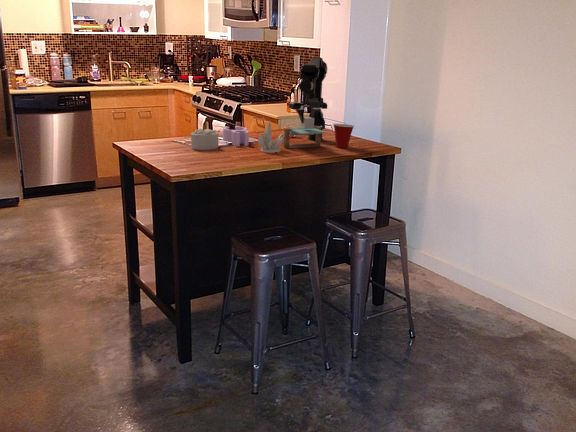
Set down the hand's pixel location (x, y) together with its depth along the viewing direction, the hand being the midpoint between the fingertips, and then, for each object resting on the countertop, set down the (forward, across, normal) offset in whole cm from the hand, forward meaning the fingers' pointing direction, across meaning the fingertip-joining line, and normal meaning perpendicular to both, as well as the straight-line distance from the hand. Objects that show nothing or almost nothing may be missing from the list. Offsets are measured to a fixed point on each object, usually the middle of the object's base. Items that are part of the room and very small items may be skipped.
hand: (307, 123), depth 275 cm
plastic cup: (+13, +20, -1) cm, 24 cm away
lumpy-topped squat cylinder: (+13, -48, +14) cm, 52 cm away
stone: (+2, 0, 0) cm, 2 cm away
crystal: (+13, -19, 0) cm, 23 cm away
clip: (+13, -28, +23) cm, 39 cm away
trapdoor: (+7, 0, +1) cm, 7 cm away
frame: (+13, 0, +4) cm, 14 cm away
